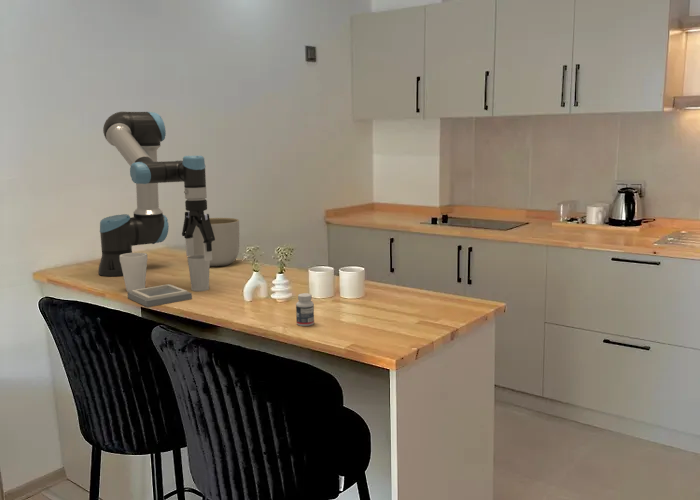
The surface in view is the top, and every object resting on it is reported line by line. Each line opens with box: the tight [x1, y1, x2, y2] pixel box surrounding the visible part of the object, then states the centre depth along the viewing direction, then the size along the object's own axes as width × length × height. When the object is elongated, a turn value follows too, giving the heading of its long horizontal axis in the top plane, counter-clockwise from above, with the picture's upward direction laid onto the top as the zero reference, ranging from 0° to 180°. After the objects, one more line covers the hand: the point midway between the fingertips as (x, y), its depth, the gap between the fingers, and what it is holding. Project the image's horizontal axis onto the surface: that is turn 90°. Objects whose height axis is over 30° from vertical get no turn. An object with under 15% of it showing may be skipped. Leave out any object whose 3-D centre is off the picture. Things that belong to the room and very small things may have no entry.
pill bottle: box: [295, 292, 315, 327], centre depth 192 cm, size 5×5×9 cm
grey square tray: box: [127, 283, 193, 308], centre depth 224 cm, size 16×16×3 cm
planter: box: [192, 217, 240, 267], centre depth 282 cm, size 21×21×19 cm
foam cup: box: [120, 252, 149, 293], centre depth 236 cm, size 10×9×13 cm
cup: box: [186, 255, 211, 292], centre depth 236 cm, size 8×8×12 cm
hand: (199, 258), depth 235 cm, fingers open, 13 cm apart
